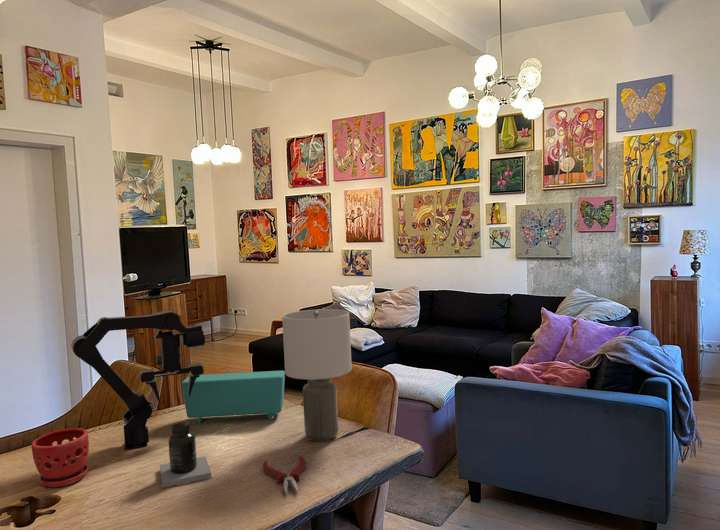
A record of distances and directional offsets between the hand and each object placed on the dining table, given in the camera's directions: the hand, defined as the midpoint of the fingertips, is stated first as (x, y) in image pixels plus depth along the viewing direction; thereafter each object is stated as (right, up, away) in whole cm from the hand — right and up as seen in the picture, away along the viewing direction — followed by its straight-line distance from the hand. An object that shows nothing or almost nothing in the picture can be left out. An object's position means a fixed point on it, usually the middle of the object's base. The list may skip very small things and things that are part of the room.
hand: (174, 398), depth 175 cm
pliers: (+39, -13, -34) cm, 53 cm away
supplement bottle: (+12, -12, -29) cm, 34 cm away
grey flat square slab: (+13, -13, -29) cm, 34 cm away
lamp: (+48, -10, -6) cm, 49 cm away
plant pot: (-19, -15, -29) cm, 38 cm away
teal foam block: (+17, -11, +16) cm, 25 cm away
